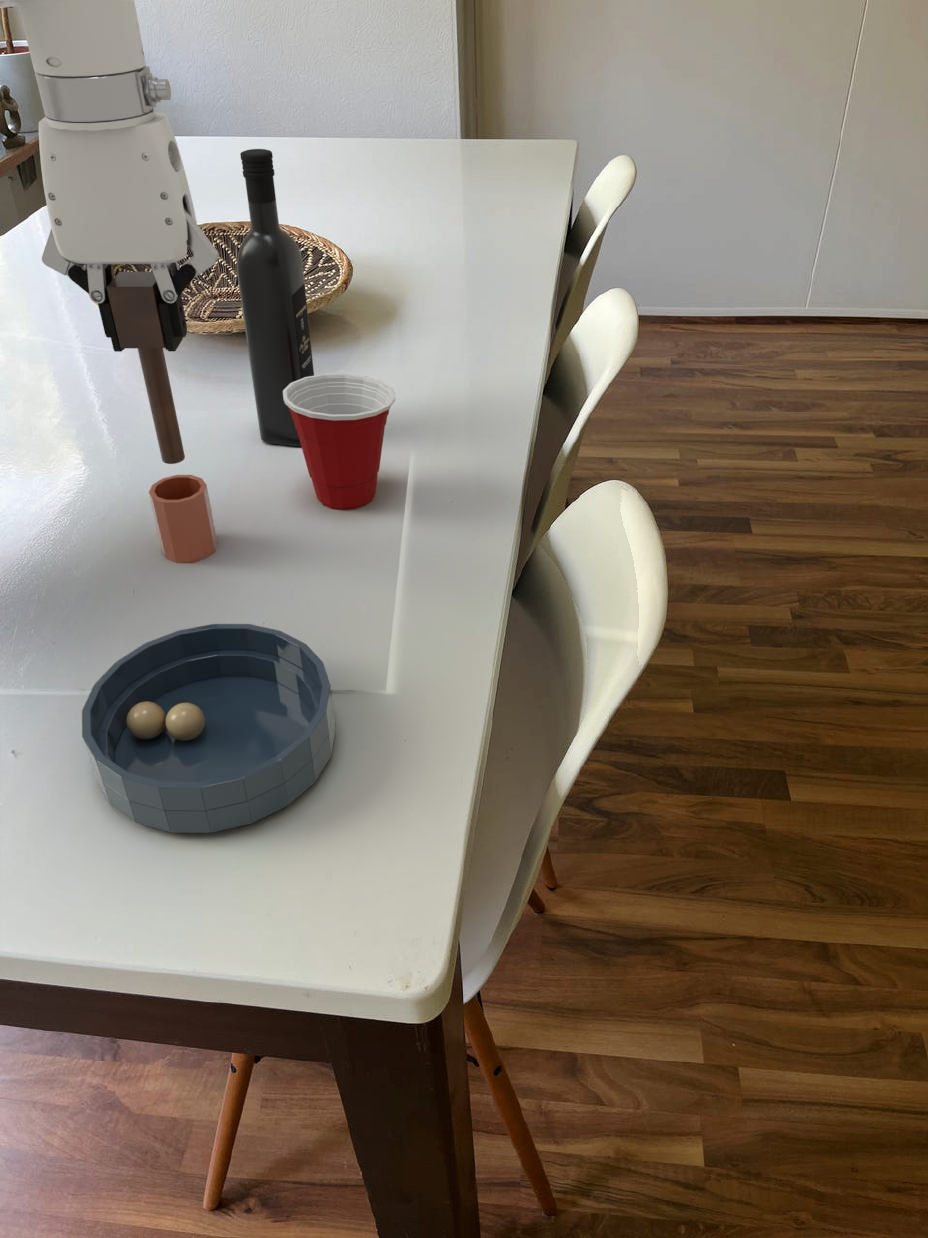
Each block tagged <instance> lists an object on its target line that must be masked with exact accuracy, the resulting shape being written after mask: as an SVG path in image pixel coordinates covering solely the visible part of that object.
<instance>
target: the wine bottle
mask: <svg viewBox="0 0 928 1238" xmlns="http://www.w3.org/2000/svg"><path fill="white" fill-rule="evenodd" d="M239 156H240V160H241V165H242V177H243V178H244V179H245V188H246V196H247V204H248V212H249V220H250V221H249V222H250V228H251V229H250V231H249V232H248V233H247V234H246V235H245V237H244V238H243V240H242V242H241V244H240V246H239V250H238V251H237V252H238V253H237V257H236V275H237V282H238V288H239V295H240V304H241V309H242V310H241V311H242V316H243V323H244V331H245V337H246V345H247V353H248V359H249V366H250V372H251V380H252V387H253V393H254V400H255V401H254V402H255V408H256V415H257V420H258V428H259V435H260V439H261V441H262V442H263V443H266V444H271V445H272V444H273V445H282V446H293V447H301V443H300V440H299V436H298V433H297V430H296V429H295V425H294V421H293V419H292V416H291V412H290V411H289V408H288V406H287V405H286V404H285V402H284V399H283V390H284V389H285V388H286V387H287V386H288V385H289V384H290V383H292V382H294V381H297V380H299V379H302V378H304V377H309V376H315V370H314V361H313V359H314V358H313V350H312V341H311V330H310V322H309V321H310V320H309V312H308V300H307V293H306V282H305V271H304V263H303V262H304V261H303V257H302V253H301V250H300V247H299V245H298V244H297V242H296V241H295V239H294V238H293V237H292V236H290V235H289V233H287V232H286V231H285V230H284V229H282V228H281V226H280V224H279V223H280V221H279V214H278V213H279V212H278V206H277V197H276V189H275V188H276V187H275V181H274V176H275V174H276V173H275V169H274V164H273V163H274V160H273V158H274V155H273V151H271V150H269V149H267V148H266V149H265V148H251V149H247V150H246V149H245V150H243V151H241V152H240V155H239Z"/></svg>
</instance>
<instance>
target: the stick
mask: <svg viewBox="0 0 928 1238" xmlns="http://www.w3.org/2000/svg"><path fill="white" fill-rule="evenodd" d="M107 291H108V296H109V300H110V304H111V309H112V313H113V317H114V322H115V326H116V330H117V335H118V339H119V343H120V348H125V349H137V353H138V357H139V362H140V367H141V371H142V377H143V380H144V384H145V389H146V393H147V399H148V403H149V407H150V412H151V417H152V421H153V427H154V430H155V435H156V439H157V444H158V448H159V453H160V457H161V461H162V462H163V463H164V464H168V465H174V464H176V465H177V464H179V463H181V462H183V461H185V458H186V455H185V450H184V446H183V439H182V436H181V430H180V426H179V419H178V416H177V411H176V406H175V401H174V396H173V392H172V386H171V382H170V376H169V371H168V365H167V362H166V361H167V360H166V356H165V352H164V349H165V347H166V346H165V341H164V336H163V331H162V326H161V321H160V316H159V311H158V304H159V302H160V301H161V298H160V290H159V288H158V285H157V282H156V279H155V276H154V273H153V271H119V272H118V273H117V274H116V275H115V276H114V279H113V280H112V281H111V283H110V284H109V285H108V286H107Z"/></svg>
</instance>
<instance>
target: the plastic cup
mask: <svg viewBox="0 0 928 1238" xmlns="http://www.w3.org/2000/svg"><path fill="white" fill-rule="evenodd" d="M283 399H284V402H285V404H286V405H287V406H288V408H289V411H290V412H291V416H292V419H293V421H294V425H295V429H296V430H297V433H298V436H299V440H300V443H301V446H300V447H301V450H302V454H303V457H304V461H305V464H306V468H307V472H308V475H309V478H310V479H311V482H312V486H313V489H314V493H315V496H316V499H317V500H318V502H319V503H320V504H321V505H322V506H324V507H327V508H329V509H331V510H338V511H349V510H355V509H359V508H362V507H365V506H367V505H369V503H371V502H372V501H373V499H374V497H375V495H376V493H377V485H378V484H377V483H378V476H379V471H380V466H381V459H382V452H383V442H384V435H385V428H386V425H387V421H388V416H389V414H390V410H391V407H392V405H393V404H394V403H395V401H396V399H397V396H396V393H395V390H394V387H393V388H392V386H390V385H388V384H387V383H385V382H384V381H382V380H379V379H375V378H373V377H370V376H366V375H359V374H353V373H352V374H351V373H321V374H316V375H315V374H314V376H309V377H304V378H302V379H299V380H297V381H294V382H292V383H290V384H289V385H288V386H287V387H286V388H285V389H284V390H283Z"/></svg>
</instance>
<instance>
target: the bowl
mask: <svg viewBox="0 0 928 1238" xmlns="http://www.w3.org/2000/svg"><path fill="white" fill-rule="evenodd" d="M141 702H153V703H156V704H157V705H159V706H160V707H161V708H162V709H163V710H164V712H165V715H166V716H167V714H168V712H169V711H170V709H171V708H173V707H174V706H175V705H177V704H180V703H191V704H194V705H196V706H197V707H199V708H200V709H201V711H202V712H203V714H204V718H205V725H204V728H203V730H202V732H201V733H200V735H198V736H197V737H196V738H194V739H192V740H189V741H181V740H177V739H175V738H174V737H172V736H171V735H170V734H169V732H168V731H167V728H166V725H165V728H164V730H163V731H162V732H161V733H160V734H159V735H158V736H157V737H155V738H152V739H148V740H144V739H139V738H137V737H135V736H133V735H132V734H131V733H130V731H129V730H128V727H127V723H126V720H127V715H128V713H129V711H130V710H131V708H132V707H133V706H135V705H136V704H138V703H141ZM335 721H336V720H335V713H334V704H333V694H332V687H331V683H330V679H329V675H328V673H327V669H326V666H325V663H324V661H323V660H321V658H320V657H319V656H318V655H317V654H316V653H315V652H314V651H313V650H312V649H311V648H310V647H309V645H308V644H307V643H305V642H303V641H301V640H299V639H297V638H296V637H293V636H292V635H290V634H288V633H285V632H283V631H282V630H278V629H274V628H269V627H266V626H265V627H264V626H259V625H256V624H251V623H210V624H206V625H200V626H196V627H195V626H194V627H190V628H184V629H179V630H175V631H173V632H171V633H168V634H165V635H162V636H160V637H158V638H154V639H153V640H150V641H147V642H145V643H143V644H142V645H140V646H138V647H137V648H135V649H134V650H132V651H131V652H128V653H127V654H126V655H124V656H123V657H121V658H119V659H118V660H116V661H115V662H114V663H113V664H112V665H111V666H110V667H109V668H108V669H107V670H106V671H105V672H104V674H102V676H101V677H99V679H98V680H97V681H96V682H95V683H94V685H92V688H91V690H90V693H89V694H88V697H87V698H86V701H85V703H84V705H83V707H82V709H81V737H82V741H83V743H84V747H85V749H86V753H87V755H88V756H87V757H88V759H89V761H90V765H91V767H92V770H93V773H94V776H95V779H96V782H97V784H98V785H99V787H100V790H102V793H103V794H104V796H105V798H106V799H107V801H108V803H109V805H110V806H112V807H113V808H115V809H116V810H117V811H119V812H120V813H122V814H123V815H124V816H126V817H127V818H129V819H130V820H131V821H133V822H134V823H136V824H140V825H142V826H147V827H150V828H154V829H157V830H161V831H165V832H167V833H197V834H198V833H204V834H205V833H216V832H219V831H224V830H229V829H233V828H237V827H241V826H246V825H250V824H253V823H256V822H257V821H259V820H261V819H263V818H265V817H268V816H270V815H271V814H273V813H276V812H278V811H280V810H281V809H284V808H285V807H287V806H289V805H290V804H291V803H293V802H294V801H295V800H296V799H297V798H298V797H300V795H302V794H303V793H304V792H305V791H306V790H308V789H309V788H310V787H311V786H312V785H314V783H316V781H317V780H318V779H319V777H320V775H321V773H322V771H323V770H324V768H325V767H326V765H327V763H328V761H329V760H330V758H331V757H332V754H333V748H334V741H335V734H336V722H335Z"/></svg>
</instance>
